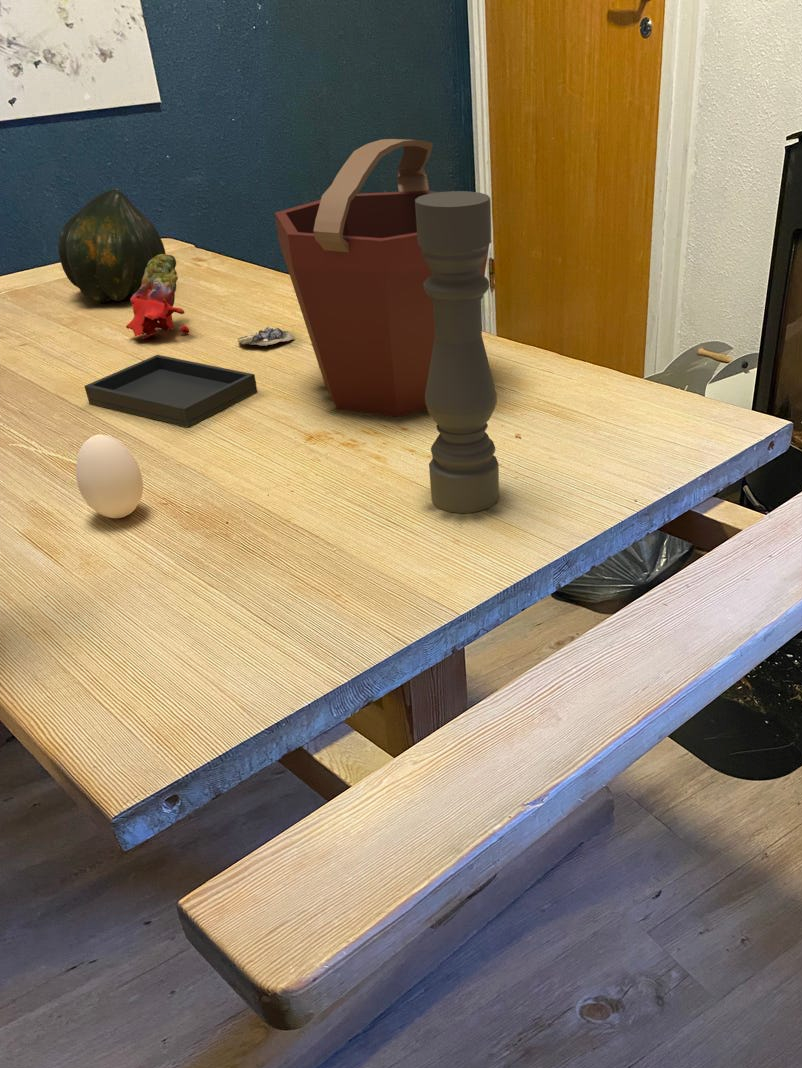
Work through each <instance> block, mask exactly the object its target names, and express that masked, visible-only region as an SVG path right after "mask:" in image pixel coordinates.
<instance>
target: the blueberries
mask: <svg viewBox="0 0 802 1068" xmlns="http://www.w3.org/2000/svg"><path fill="white" fill-rule="evenodd" d="M291 340H295V336H293V335H292V334H291V332H290V331H289V330H282V329H281V328H279V327H277V328H273V327H272V328H271V327H270V326H266V328H265V329H259V330H258V332H255V333H252V334H251V333H247V335H245V336H241V337H239V338H237V340H236V341H237V343H238V344H239V345H246V344H247V345H250V346H251V345H252V346H254V345H257V346H260V347H263V346H265V347H268V345H274V344H278V343H280V342H290V341H291Z"/></svg>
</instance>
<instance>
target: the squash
mask: <svg viewBox="0 0 802 1068" xmlns="http://www.w3.org/2000/svg"><path fill="white" fill-rule="evenodd" d="M58 237H59V238H58V245H57V249H58V255H59V256H58V257H59V260H60V264H61V268H62V269H63V272H64V273H65V276H66V278H67V279H68V280H69V282H70V283H71V284H72V285H73V286H75V287H76V288H78V289H79V291H80V292H81V294H82V295H84V297H86V298H87V299H89V300H90V301H92V302H95V303H99V304H104V303H108V302H109V301H111V300H112V301H114V302H120V301H122V300H125V299H126V298H127V297H128V296H129V295H132V296H133V295H134V294H135V293H136V292H137V291H138V290H139V289H140V287H141V283H142V278H143V276H144V271H145V269H146V267H147V264H148V262H149V261H150V260H151V259H152V258H154V257H155V256H157V255H160V254H166V255H167V253H166V249H165V245H164V243H163V240H162V238H161V236H160V234H159V232H158V231H157V229H156V227H155V226H154V224H153V223H152V222H151V221H150V220H149V219H148V217H146V216H145V214H144V213H142V212H141V211H140V210H139V209H138V208H137V207H136V206H135V205H134V204H133V202H131V200H130V199H129V198H128V197H127V195H126V194H124V192H122V191H121V190H120V189H119V188H114V189H109V190H106V191H104V192H101V193H100V194H98V195H97V196H95V197H93V199H92V200H90V201H89V202H87V204H85V205H84V206H83V207H82V208H81V209H80V210H79V211H78V212H77V213H75V214H74V215H73V216H72V217H71V218H70V219H69V220H67V222H66V223H65V224H64V226H63V227H62V229H61V230H60V233H59V236H58Z"/></svg>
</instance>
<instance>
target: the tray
mask: <svg viewBox="0 0 802 1068" xmlns="http://www.w3.org/2000/svg"><path fill="white" fill-rule="evenodd" d="M84 390H85V393H86V397H87V401H88V403H89V404H90V405H94V406H98V407H102V408H105V409H111V410H114V411H119V412H122V413H127V414H131V415H136V416H139V417H144V418H148V419H152V420H156V421H160V422H164V423H168V424H173V425H177V426H180V427H185V428H190V427H192V426H194V425H196V424H198V423H201V422H202V421H204V420H206V419H207V418H210V417H212V416H214V415H215V414H218V413H220V412H221V411H223V410H225V409H226V408H229V407H231V406H232V405H234V404H237V403H239V402H241V401H242V400H244V399H247V398H248V397H250V396H252V395H254V394H256V393H257V392H258V386H257V382H256V376H255V373H250V372H246V371H245V372H244V371H240V370H235V369H231V368H225V367H220V366H215V365H210V364H205V363H200V362H196V361H190V360H186V359H181V358H175V357H171V356H167V355H161V354H155V355H153V356H151V357H148V358H146V359H144V360H141V361H138V362H137V363H135V364H132V365H130V366H128V367H125V368H122V369H121V370H118V371H116V372H114V373H111V374H108V375H107V376H103V377H102V378H99V379H97V380H95V381H92V382H90V383H87V384H85V385H84Z"/></svg>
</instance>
